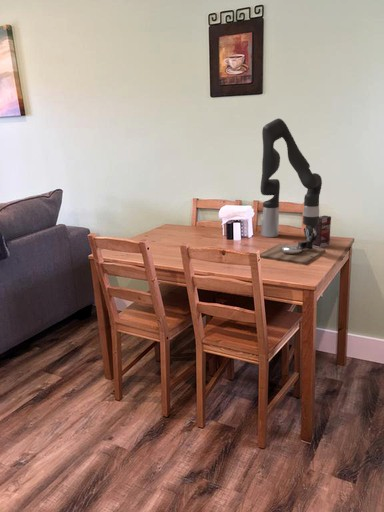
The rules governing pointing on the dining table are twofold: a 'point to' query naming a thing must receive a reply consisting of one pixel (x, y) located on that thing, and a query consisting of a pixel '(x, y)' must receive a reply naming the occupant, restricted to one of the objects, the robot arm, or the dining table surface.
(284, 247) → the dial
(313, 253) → the board
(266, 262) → the dining table surface
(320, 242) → the supplement box
